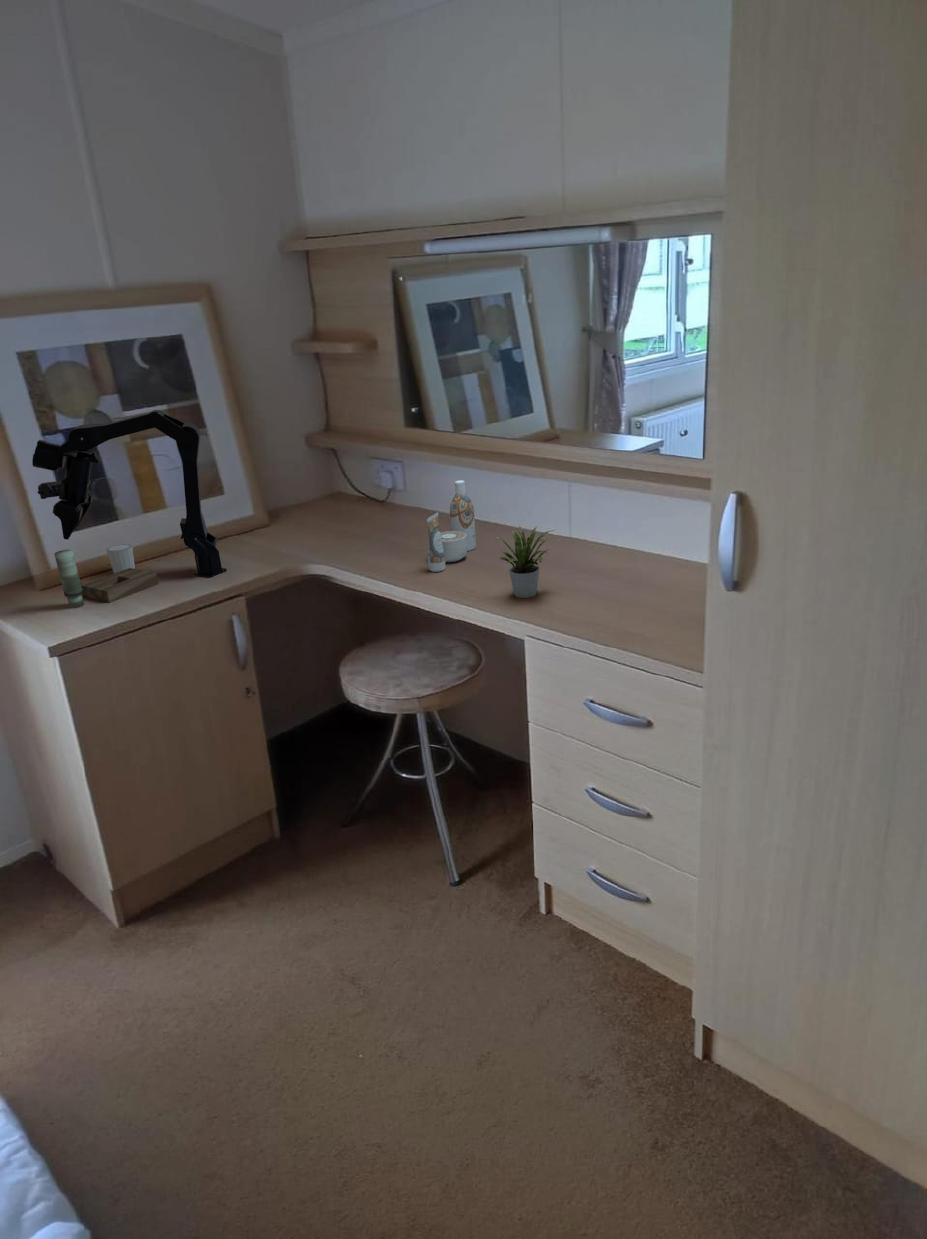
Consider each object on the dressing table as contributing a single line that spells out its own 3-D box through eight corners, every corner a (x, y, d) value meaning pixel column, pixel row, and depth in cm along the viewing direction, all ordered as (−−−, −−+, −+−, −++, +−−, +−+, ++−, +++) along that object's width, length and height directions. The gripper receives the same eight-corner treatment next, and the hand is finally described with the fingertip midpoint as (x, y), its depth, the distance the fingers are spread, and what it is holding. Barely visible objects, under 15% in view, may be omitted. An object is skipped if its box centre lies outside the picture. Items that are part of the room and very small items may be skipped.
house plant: (573, 592, 206) (572, 524, 200) (534, 609, 198) (531, 539, 191) (528, 580, 216) (525, 515, 210) (488, 596, 207) (484, 529, 201)
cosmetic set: (448, 575, 224) (442, 502, 217) (415, 573, 227) (408, 501, 220) (484, 546, 245) (480, 478, 238) (453, 544, 248) (448, 478, 241)
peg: (89, 603, 222) (76, 550, 217) (74, 609, 219) (60, 555, 214) (79, 601, 225) (66, 548, 219) (63, 607, 221) (50, 553, 216)
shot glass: (110, 577, 242) (104, 552, 239) (112, 569, 248) (107, 545, 245) (136, 573, 243) (131, 549, 241) (138, 566, 249) (133, 542, 247)
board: (158, 583, 233) (156, 573, 232) (109, 602, 222) (107, 591, 221) (132, 578, 239) (130, 567, 238) (83, 596, 228) (80, 585, 227)
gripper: (51, 461, 229) (44, 518, 234) (34, 476, 212) (26, 537, 217) (97, 470, 233) (89, 527, 237) (83, 486, 216) (75, 547, 220)
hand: (69, 534), depth 228 cm, fingers open, 9 cm apart
